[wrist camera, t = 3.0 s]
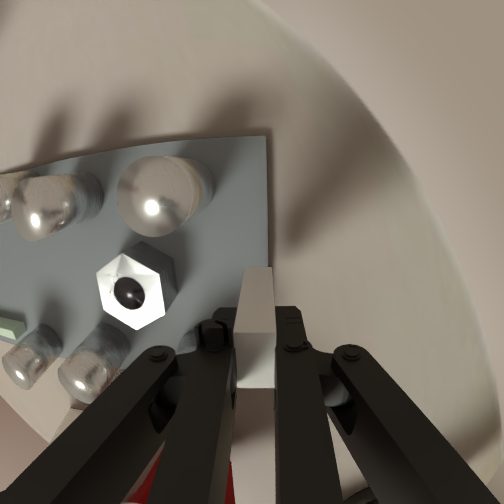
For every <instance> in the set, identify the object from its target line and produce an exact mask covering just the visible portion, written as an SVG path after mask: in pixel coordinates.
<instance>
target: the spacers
mask: <svg viewBox="0 0 504 504" xmlns="http://www.w3.org/2000/svg"><path fill="white" fill-rule="evenodd" d="M214 191H215V181H214V178H213V175H212V173H211V171H210V170H209V168H208V167H207V166H206V165H204V164H203V163H202V162H200V161H198V160H195V159H188V158H178V157H167V156H155V155H154V156H146V157H142V158H140V159H138V160H136V161H134V162H133V163H131V164H130V165H129V166H128V167H127V168H126V170H125V171H124V172H123V174H122V176H121V178H120V180H119V183H118V186H117V193H116V199H117V206H118V210H119V212H120V215H121V216H122V218H123V220H124V221H125V223H126V224H127V225H128V226H129V227H130V228H131V229H132V230H134V231H135V232H137V233H139V234H141V235H144V236H148V237H160V236H164V235H167V234H169V233H171V232H173V231H174V230H176V229H177V228H179V227H180V226H181V225H183V224H184V223H185V222H187V221H188V220H190V219H191V218H192V217H194V216H195V215H197V214H198V213H199V212H201V211H202V210H204V209H205V208H206V207H207V206H208V205H209V203H210V202H211V200H212V198H213V196H214ZM103 201H104V193H103V188H102V185H101V183H100V181H99V179H98V178H97V177H96V176H95V175H93V174H92V173H90V172H77V173H67V174H58V175H49V176H40V175H39V174H38V173H37V172H35V171H24V172H16V173H8V174H1V175H0V224H2V223H5V222H8V221H12V220H13V222H14V225H15V227H16V229H17V231H18V232H19V234H20V235H21V236H22V237H23V238H24V239H26V240H27V241H30V242H36V241H39V240H41V239H43V238H46V237H48V236H51V235H53V234H56V233H58V232H60V231H63V230H66V229H68V228H71V227H73V226H76V225H78V224H81V223H84V222H86V221H89V220H92V219H94V218H95V217H96V216H97V215H98V214H99V212H100V211H101V208H102V206H103ZM196 348H197V343H196V336H195V330H194V331H190V332H188V333H186V334H185V335H184V336H183V337H182V338H181V340H180V342H179V344H178V347H177V349H176V351H175V353H176V355H177V354H184V353H189V352H193V351H195V350H196ZM62 352H63V343H62V341H61V339H60V337H59V335H58V334H57V333H56V331H55V330H54V329H53V328H51V327H50V326H48V325H46V324H40V325H38V326H37V327H36V328H35V329H34V330H33V331H31V332H30V333H29V334H28V335H27V336H26V337H24V338H23V339H22V340H21V341H20V342H19V343H17V344H16V345H15V346H14V347H13V348H12V349H11V350H10V351H8V352H7V353H6V354H5V355H4V356H3V357H2V363H3V366H4V369H5V371H6V372H7V374H8V375H9V377H10V378H11V379H12V380H13V381H14V382H15V383H16V384H17V385H18V386H19V387H21V388H22V389H25V390H29V389H30V388H31V387H32V386H33V385H34V383H35V382H36V381H37V380H38V379H39V378H40V377H41V376H42V374H43V373H44V372H45V371H46V370H47V369H48V368H49V367H50V366H51V365H52V363H53V362H54V361H55V360H56V359H57V358H58V357H59V356H60V355H61V354H62ZM129 352H130V344H129V341H128V339H127V337H126V336H125V334H124V333H123V332H122V331H121V330H120V329H118V328H117V327H115V326H113V325H111V324H107V323H103V324H99V325H98V326H96V327H95V329H94V330H93V331H92V332H91V333H90V334H89V335H88V336H87V337H86V338H85V339H84V340H83V341H82V343H81V344H80V345H79V346H78V347H77V348H76V349H75V350H74V351H73V352H72V354H71V355H70V356H69V357H68V358H67V359H66V360H65V361H64V362H63V364H62V365H61V366H60V367H59V368H58V377H59V380H60V382H61V384H62V385H63V387H64V388H65V389H66V390H67V391H68V392H69V393H70V394H71V395H72V396H73V397H75V398H76V399H78V400H79V401H81V402H84V403H87V404H91V403H92V402H93V401H94V400H95V399H96V398H97V397H98V396H99V395H100V394H101V393H102V392H103V391H104V390H105V389H106V388H107V387H108V385H109V384H110V382H111V380H112V379H113V377H114V376H115V374H116V373H117V371H118V370H119V368H120V367H121V365H122V364H123V362H124V360H125V359H126V357H127V356H128V354H129Z"/></svg>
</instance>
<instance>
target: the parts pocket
mask: <svg viewBox="0 0 504 504" xmlns="http://www.w3.org/2000/svg"><path fill="white" fill-rule="evenodd" d="M26 331H27V330H26V327H25V324H24V322H20V321H16V320H11V319H7V318H3V317H0V335H2V336H5V337H8V338H11V339H15V340H17V339H18V338H19V337H20V336H21V335H22V334H24V333H25V332H26Z"/></svg>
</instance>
